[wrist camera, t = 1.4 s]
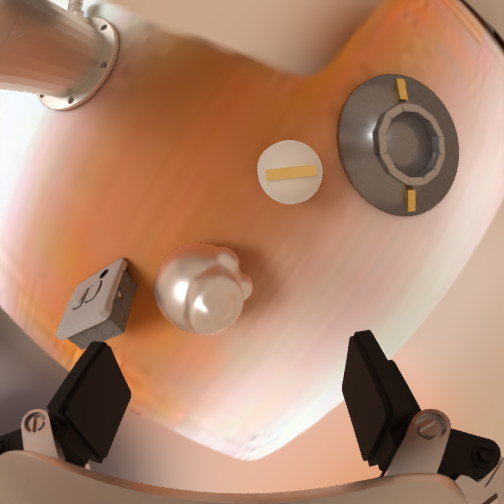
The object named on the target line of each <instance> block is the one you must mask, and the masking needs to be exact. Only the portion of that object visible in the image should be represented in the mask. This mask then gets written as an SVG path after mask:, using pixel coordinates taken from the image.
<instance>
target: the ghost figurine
mask: <svg viewBox="0 0 504 504" xmlns="http://www.w3.org/2000/svg"><path fill="white" fill-rule="evenodd" d="M252 291H253V283H252V280H251V278H250V277H249V276H248V275H246V274H244V273H242V272H241V270H240V268H239V259H238V257H237V255H236V254H235V252H234V251H232V250H231V249H229V248H227V247H216V246H214V245H211V244H206V243H192V244H188V245H184V246H182V247H179V248H177V249H176V250H174V251H173V252H171V253H170V254H169V255H168V256H167V257H166V258H165V259H164V260H163V262H162V263H161V265H160V267H159V269H158V271H157V274H156V277H155V283H154V293H155V299H156V302H157V305H158V307H159V309H160V311H161V313H162V314H163V316H164V317H165V318H166V319H167V320H168V321H169V322H170V323H171V324H172V325H173V326H175V327H176V328H178V329H180V330H182V331H185V332H188V333H193V334H203V335H212V334H216V333H219V332H221V331H223V330H225V329H227V328H228V327H230V326H231V325H232V324H233V323H234V322H235V321H236V320H237V318H238V317H239V315H240V313H241V311H242V308H243V303H244V300H245V299H247V298H248V297H249V296H250V295H251V294H252Z"/></svg>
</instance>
